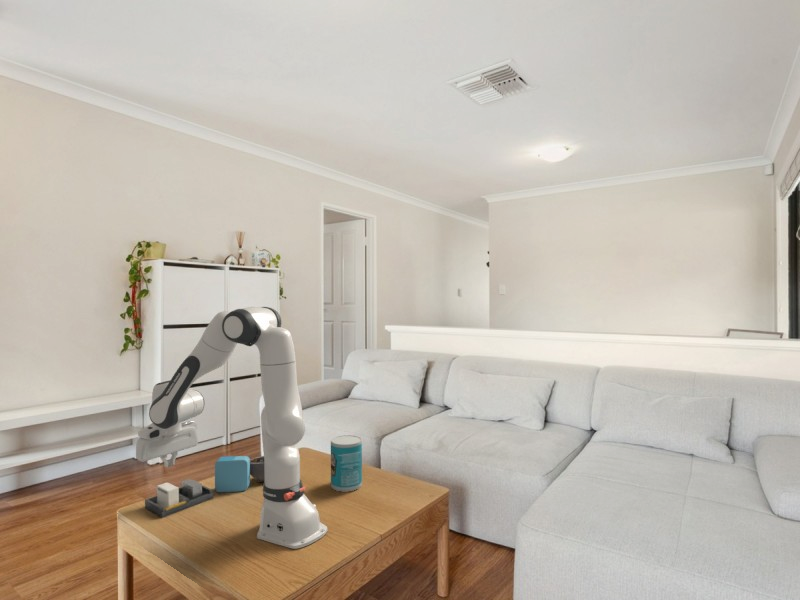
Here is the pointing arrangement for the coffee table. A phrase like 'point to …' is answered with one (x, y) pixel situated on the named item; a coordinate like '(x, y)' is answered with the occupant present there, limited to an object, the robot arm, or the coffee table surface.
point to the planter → (257, 468)
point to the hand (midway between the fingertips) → (169, 466)
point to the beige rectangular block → (167, 495)
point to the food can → (346, 463)
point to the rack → (181, 498)
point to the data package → (232, 474)
